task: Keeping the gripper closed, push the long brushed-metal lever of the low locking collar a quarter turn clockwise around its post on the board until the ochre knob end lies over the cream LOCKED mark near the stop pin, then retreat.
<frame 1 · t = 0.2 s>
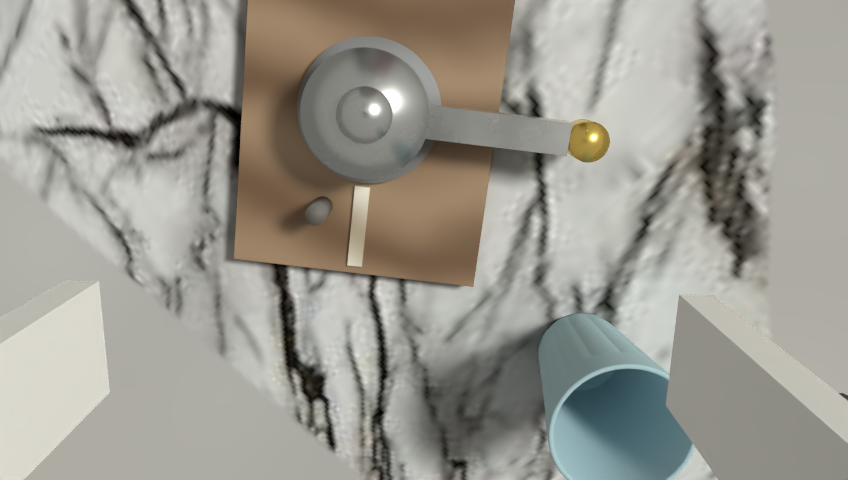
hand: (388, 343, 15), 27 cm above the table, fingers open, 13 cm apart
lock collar: (455, 124, 37), point 4 cm above the table, hinge at 0.0°
cup: (578, 350, 45), on the table
post board: (371, 109, 41), on the table
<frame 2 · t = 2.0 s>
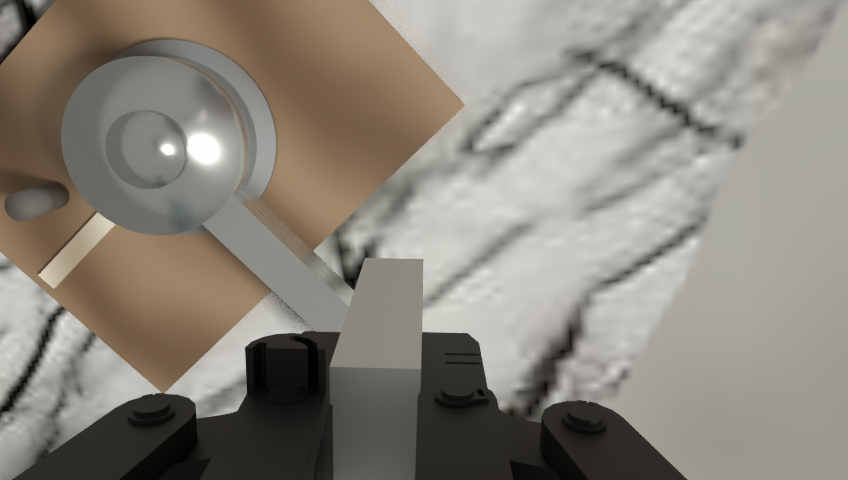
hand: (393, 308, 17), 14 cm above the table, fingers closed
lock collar: (250, 231, 28), point 4 cm above the table, hinge at 0.0°
post board: (191, 136, 31), on the table
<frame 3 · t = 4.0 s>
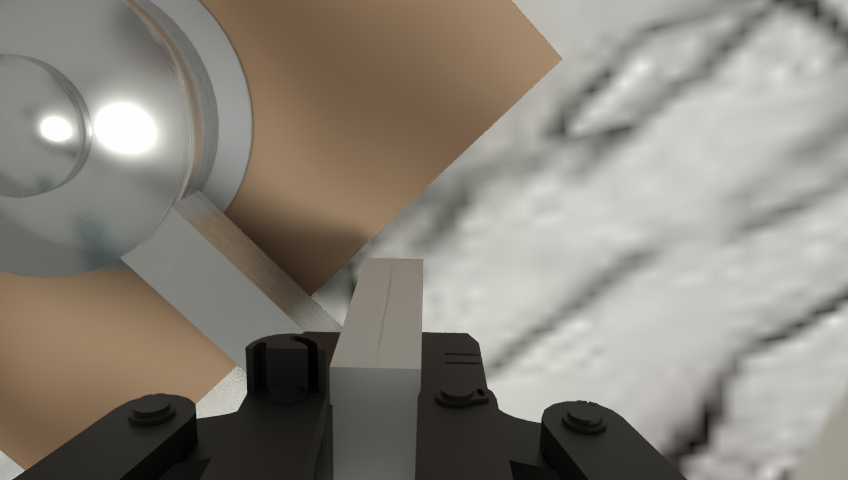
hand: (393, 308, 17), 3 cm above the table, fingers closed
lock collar: (206, 269, 17), point 4 cm above the table, hinge at 0.0°, touching gripper
post board: (117, 112, 19), on the table
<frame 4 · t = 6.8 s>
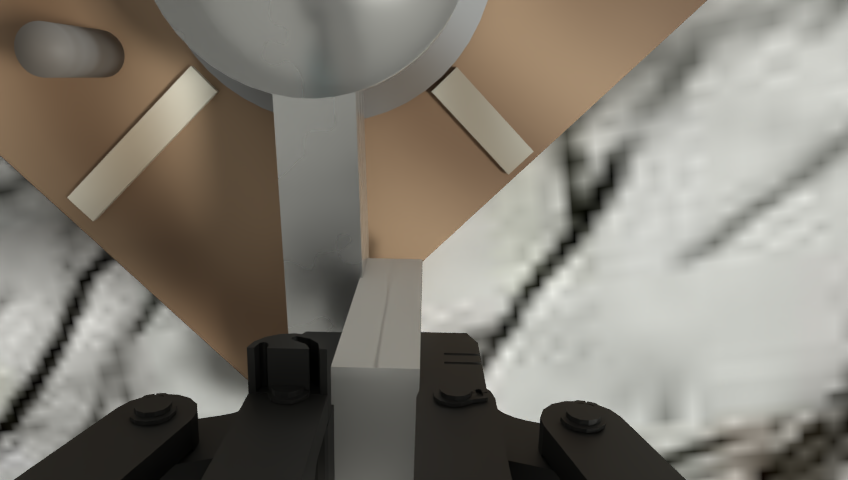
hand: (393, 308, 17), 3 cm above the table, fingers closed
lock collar: (322, 160, 16), point 4 cm above the table, hinge at 42.7°, touching gripper
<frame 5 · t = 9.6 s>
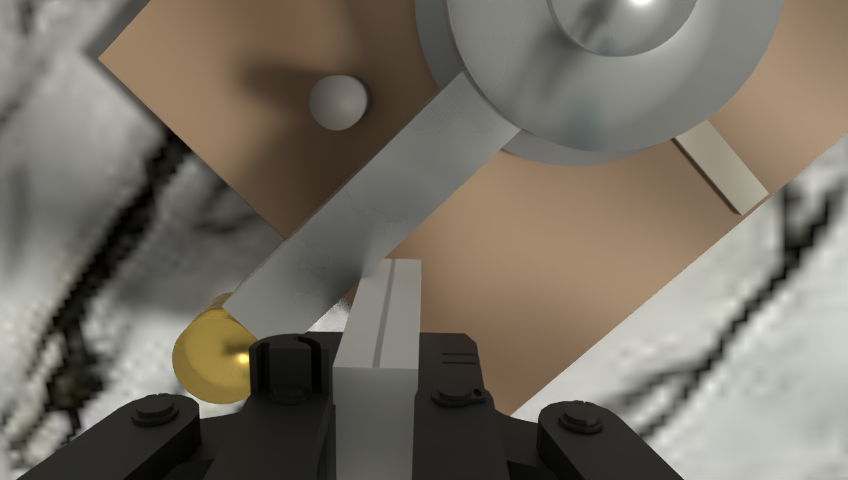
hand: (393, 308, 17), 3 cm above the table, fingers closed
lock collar: (441, 144, 16), point 4 cm above the table, hinge at 89.8°, touching gripper
post board: (569, 4, 18), on the table
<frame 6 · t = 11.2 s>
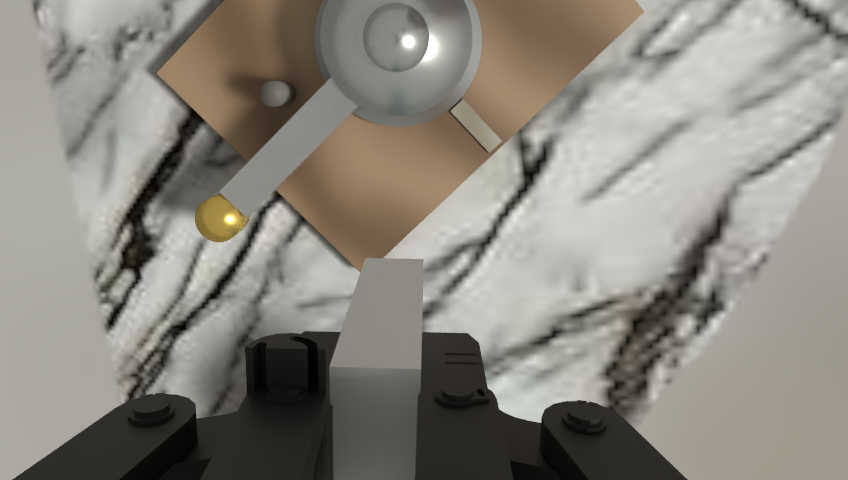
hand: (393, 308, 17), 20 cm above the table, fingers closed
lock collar: (324, 113, 32), point 4 cm above the table, hinge at 89.8°
post board: (399, 43, 35), on the table
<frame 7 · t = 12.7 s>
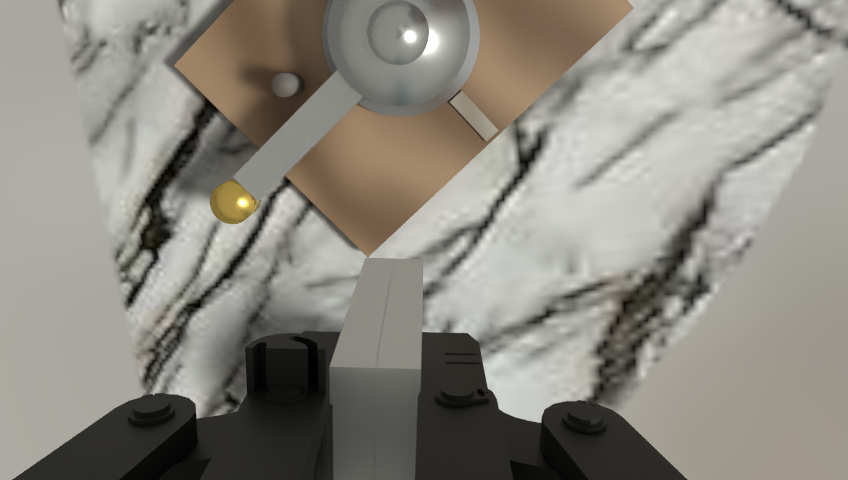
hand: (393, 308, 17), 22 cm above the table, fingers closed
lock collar: (331, 103, 35), point 4 cm above the table, hinge at 89.8°
post board: (402, 38, 37), on the table
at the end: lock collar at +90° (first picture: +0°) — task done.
